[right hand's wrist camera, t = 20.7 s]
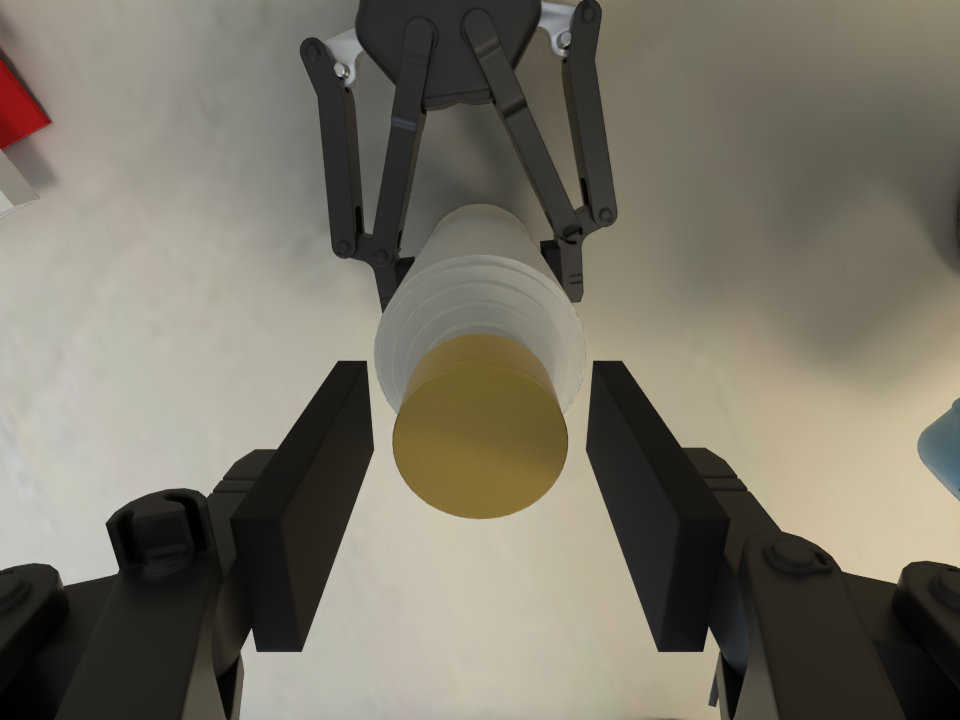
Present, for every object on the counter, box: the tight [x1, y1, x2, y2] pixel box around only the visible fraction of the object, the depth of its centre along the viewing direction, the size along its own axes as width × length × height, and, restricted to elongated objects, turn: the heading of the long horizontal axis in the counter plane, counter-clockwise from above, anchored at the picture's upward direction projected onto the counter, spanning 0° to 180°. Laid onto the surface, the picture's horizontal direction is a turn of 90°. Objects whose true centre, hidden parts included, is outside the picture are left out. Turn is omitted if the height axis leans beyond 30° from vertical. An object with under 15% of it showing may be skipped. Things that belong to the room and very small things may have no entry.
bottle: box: [374, 204, 586, 415], centre depth 24 cm, size 7×7×23 cm
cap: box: [392, 334, 568, 519], centre depth 14 cm, size 4×4×2 cm
